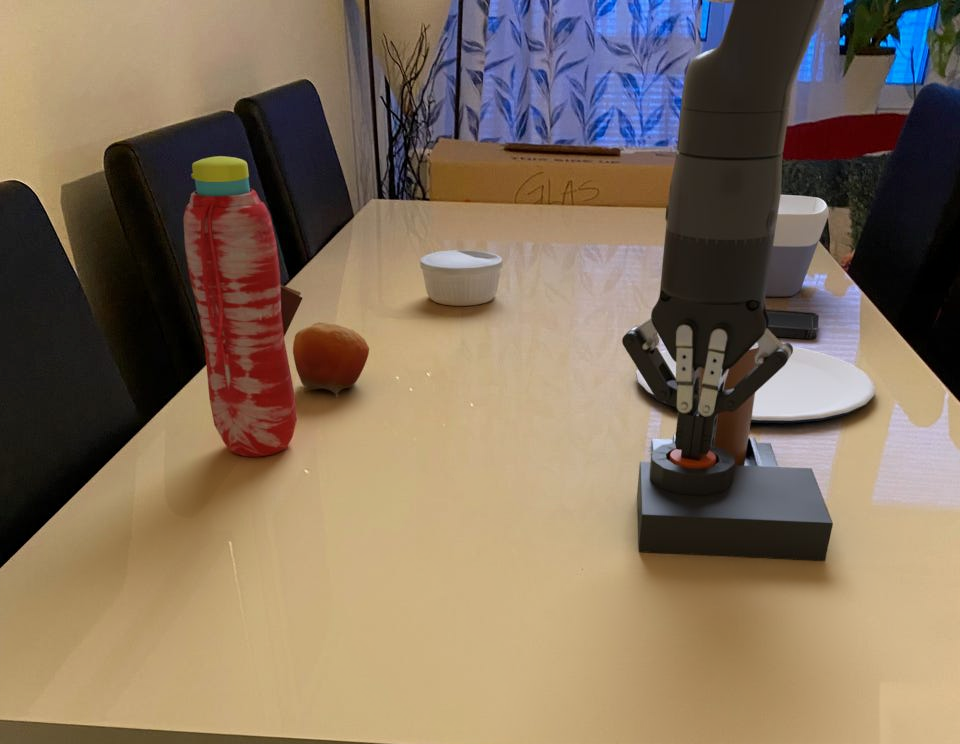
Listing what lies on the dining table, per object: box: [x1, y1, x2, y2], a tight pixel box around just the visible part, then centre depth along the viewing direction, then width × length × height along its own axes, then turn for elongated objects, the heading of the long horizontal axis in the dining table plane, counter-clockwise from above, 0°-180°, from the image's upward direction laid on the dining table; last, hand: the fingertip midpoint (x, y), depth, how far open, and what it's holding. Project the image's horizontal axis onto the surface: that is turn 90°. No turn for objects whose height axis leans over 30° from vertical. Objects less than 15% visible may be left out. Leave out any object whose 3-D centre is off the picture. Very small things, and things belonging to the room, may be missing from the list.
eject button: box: [670, 449, 716, 469], centre depth 79 cm, size 4×4×2 cm
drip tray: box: [650, 434, 779, 467], centre depth 88 cm, size 11×11×2 cm
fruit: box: [292, 322, 370, 399], centre depth 106 cm, size 8×8×8 cm
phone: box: [766, 308, 820, 340], centre depth 125 cm, size 8×1×15 cm
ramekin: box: [419, 249, 504, 307], centre depth 136 cm, size 11×11×5 cm
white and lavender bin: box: [765, 194, 830, 298], centre depth 138 cm, size 15×15×11 cm
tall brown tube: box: [698, 342, 759, 466], centre depth 85 cm, size 5×5×11 cm
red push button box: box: [636, 443, 834, 562], centre depth 78 cm, size 10×14×5 cm
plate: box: [635, 346, 876, 424], centre depth 106 cm, size 25×25×1 cm
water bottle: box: [183, 155, 303, 458], centre depth 88 cm, size 12×8×25 cm, turn 161°
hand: (692, 455), depth 79 cm, fingers closed
